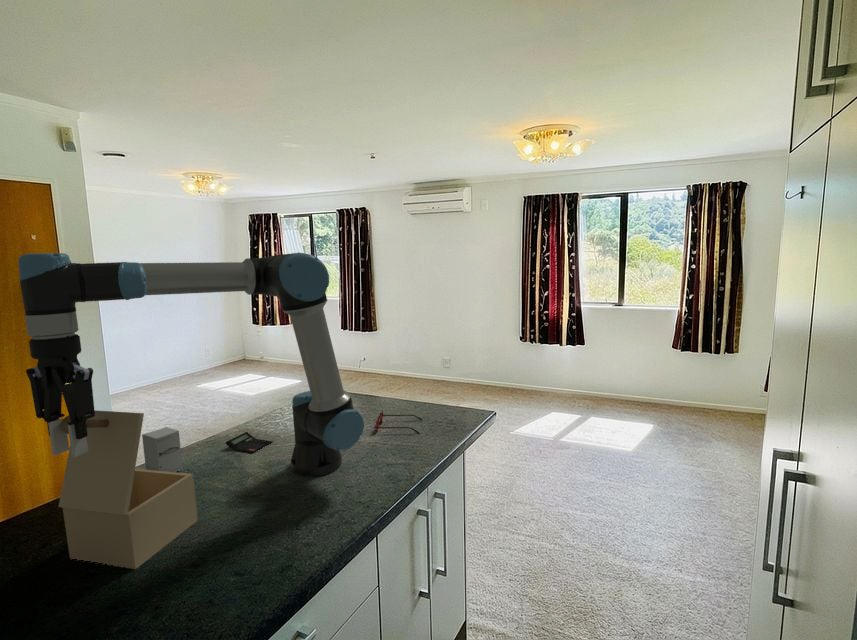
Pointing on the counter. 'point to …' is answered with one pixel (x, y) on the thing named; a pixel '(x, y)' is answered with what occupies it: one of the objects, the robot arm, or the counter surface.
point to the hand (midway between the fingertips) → (70, 452)
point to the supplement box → (162, 450)
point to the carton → (134, 521)
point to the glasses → (391, 427)
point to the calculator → (247, 443)
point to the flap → (103, 464)
